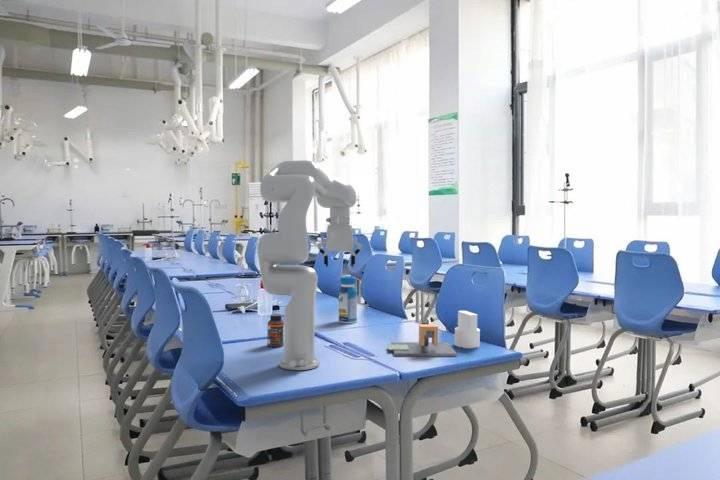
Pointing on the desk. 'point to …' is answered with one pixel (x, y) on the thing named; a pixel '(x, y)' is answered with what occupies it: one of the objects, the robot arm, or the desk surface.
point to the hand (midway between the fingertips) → (339, 266)
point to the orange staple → (428, 328)
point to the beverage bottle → (347, 300)
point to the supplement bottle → (275, 331)
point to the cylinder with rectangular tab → (467, 330)
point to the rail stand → (422, 347)
